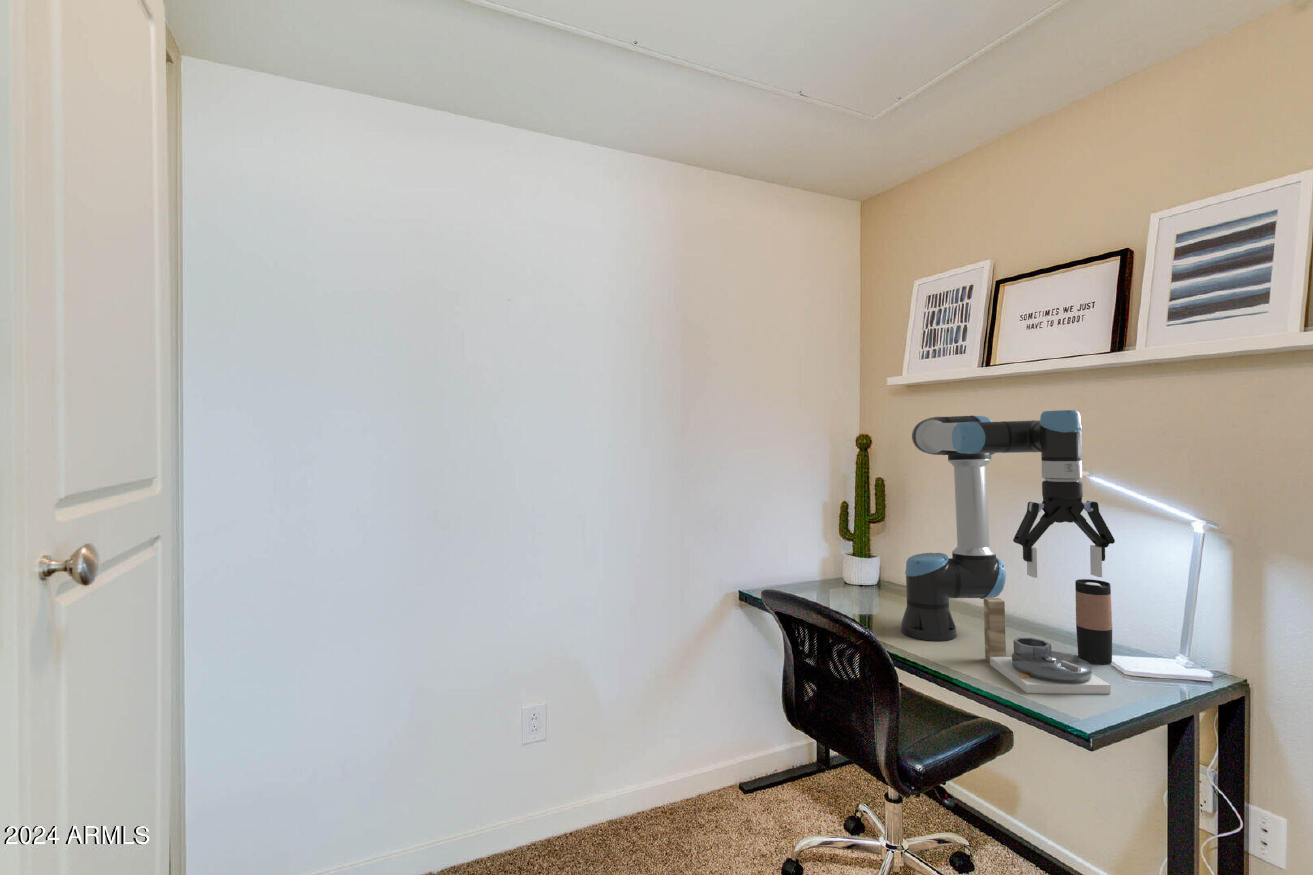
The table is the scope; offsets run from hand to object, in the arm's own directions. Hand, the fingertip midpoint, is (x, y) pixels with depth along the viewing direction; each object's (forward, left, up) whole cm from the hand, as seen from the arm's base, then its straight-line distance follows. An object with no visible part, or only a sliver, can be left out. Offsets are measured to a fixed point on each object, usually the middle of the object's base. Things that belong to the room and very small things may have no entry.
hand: (1064, 576), depth 136 cm
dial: (-11, +3, -25) cm, 27 cm away
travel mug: (-25, +21, -27) cm, 43 cm away
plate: (-12, +2, -27) cm, 30 cm away
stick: (-24, -5, -27) cm, 36 cm away
